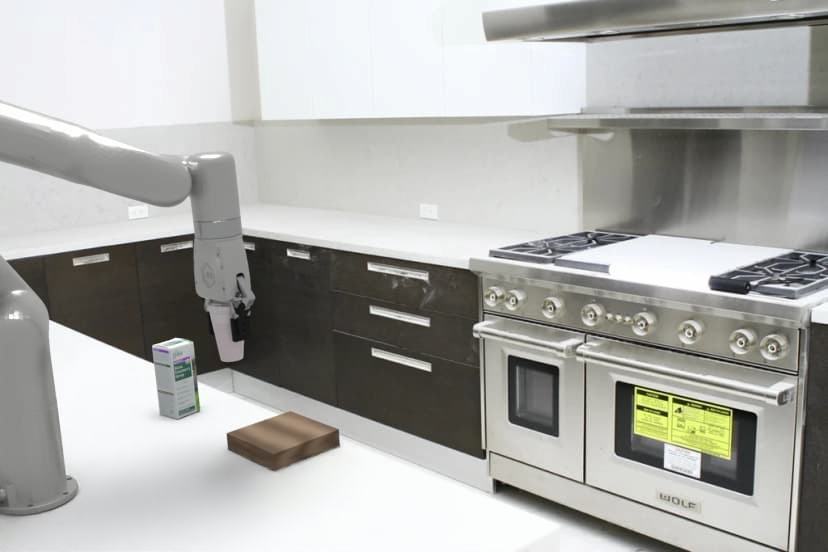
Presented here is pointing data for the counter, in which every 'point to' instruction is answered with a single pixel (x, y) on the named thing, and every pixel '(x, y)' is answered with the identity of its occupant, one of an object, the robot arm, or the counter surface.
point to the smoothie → (224, 331)
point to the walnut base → (283, 440)
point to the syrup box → (176, 378)
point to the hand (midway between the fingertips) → (229, 335)
